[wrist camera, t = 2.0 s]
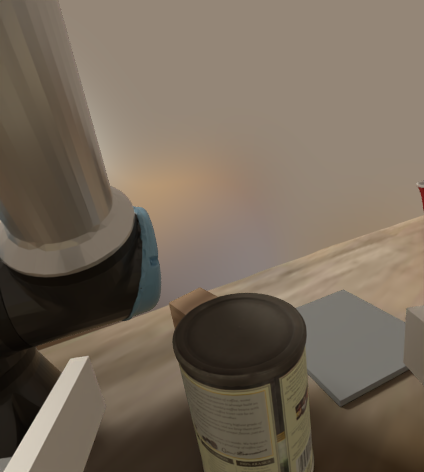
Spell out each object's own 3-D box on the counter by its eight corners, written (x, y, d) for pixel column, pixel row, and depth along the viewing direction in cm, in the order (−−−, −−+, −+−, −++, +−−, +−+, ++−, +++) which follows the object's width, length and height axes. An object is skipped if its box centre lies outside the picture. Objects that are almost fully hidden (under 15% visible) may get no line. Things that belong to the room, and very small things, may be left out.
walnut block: (175, 329, 48) (168, 302, 46) (204, 313, 51) (200, 287, 50) (195, 346, 43) (189, 317, 42) (227, 327, 47) (222, 299, 45)
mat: (260, 326, 45) (260, 322, 45) (343, 293, 50) (343, 289, 50) (340, 406, 31) (340, 400, 31) (445, 349, 36) (445, 344, 36)
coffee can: (210, 404, 34) (188, 294, 29) (305, 406, 32) (298, 288, 27) (190, 514, 24) (153, 377, 20) (325, 527, 22) (317, 377, 18)
